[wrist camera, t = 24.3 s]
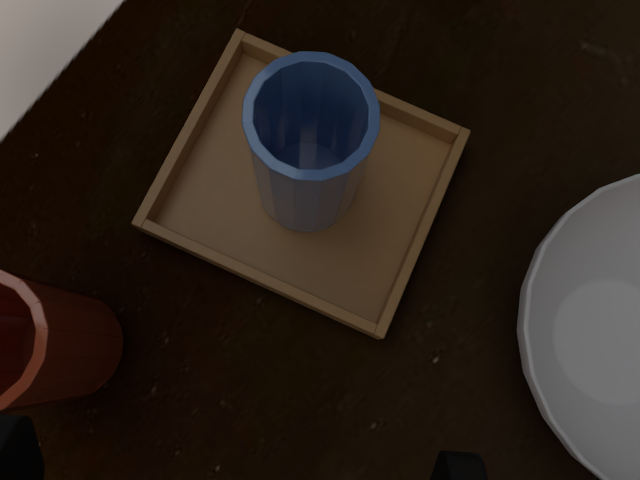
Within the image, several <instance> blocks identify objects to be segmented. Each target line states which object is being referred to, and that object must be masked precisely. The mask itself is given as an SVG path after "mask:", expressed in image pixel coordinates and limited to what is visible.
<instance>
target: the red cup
mask: <svg viewBox="0 0 640 480" xmlns="http://www.w3.org/2000/svg"><path fill="white" fill-rule="evenodd" d="M122 352H123V332H122V328H121V325H120V323H119V320H118V319H117V317H116V315H115V314H114V312H113V311H112V310H111V309H110V308H109V307H108V306H107V305H106V304H104V303H103V302H102V301H100V300H98V299H96V298H94V297H91V296H88V295H86V294H84V293H81V292H77V291H74V290H71V289H67V288H64V287H61V286H57V285H54V284H51V283H47V282H44V281H40V280H37V279H34V278H30V277H27V276H24V275H20V274H17V273H13V272H10V271H7V270H3V269H0V414H7V413H12V412H17V411H22V410H27V409H32V408H37V407H42V406H47V405H52V404H57V403H62V402H67V401H72V400H75V399H77V398H81V397H84V396H87V395H89V394H91V393H93V392H95V391H96V390H98V389H99V388H101V387H102V386H103V385H104V384H105V383H106V382H107V381H108V380H109V379H110V378H111V376H112V375H113V374H114V372H115V371H116V369H117V367H118V365H119V362H120V360H121V356H122Z"/></svg>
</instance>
